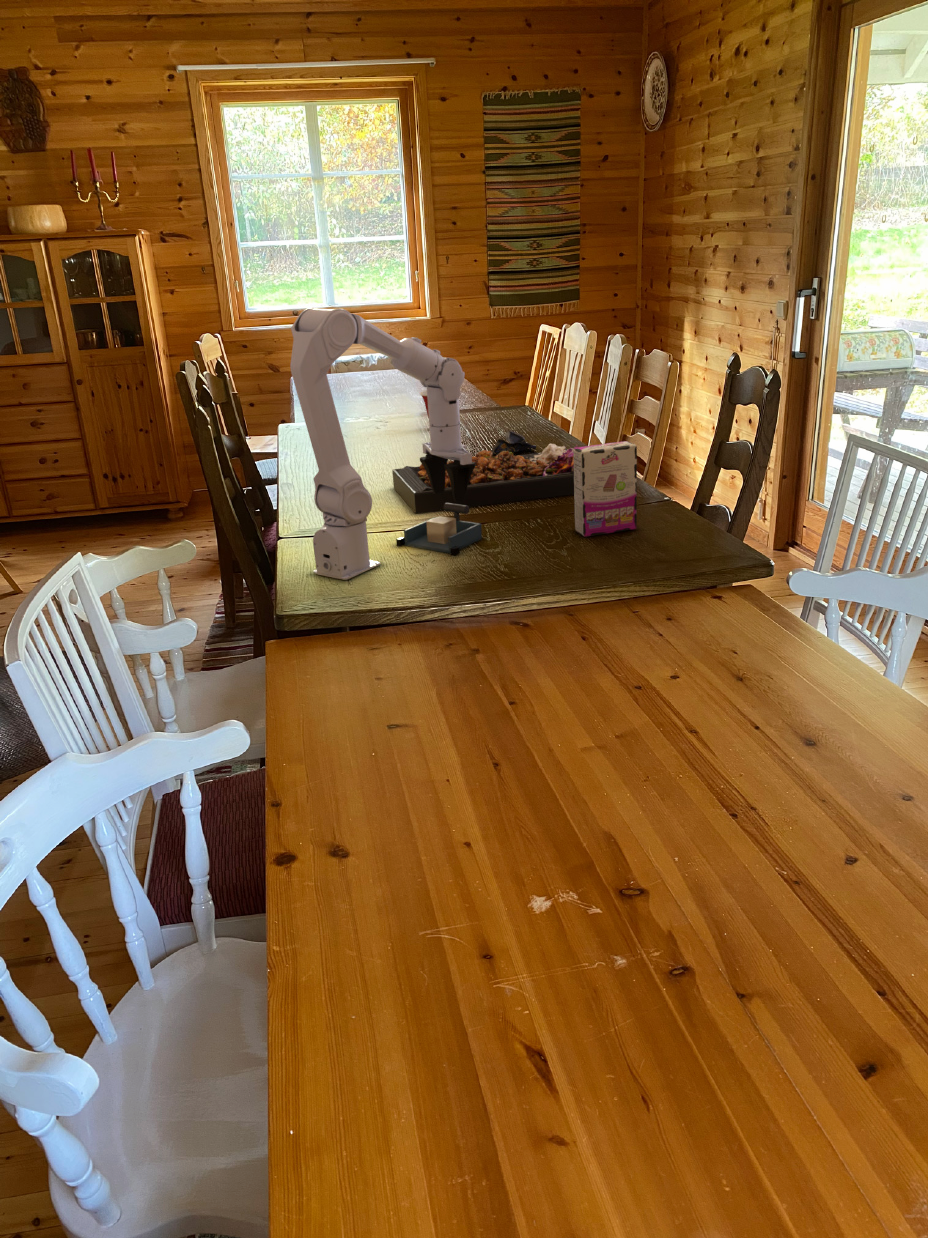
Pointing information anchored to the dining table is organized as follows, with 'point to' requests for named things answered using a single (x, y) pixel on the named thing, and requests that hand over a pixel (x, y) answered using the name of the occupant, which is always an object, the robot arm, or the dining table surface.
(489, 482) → the food platter
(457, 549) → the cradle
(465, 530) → the tray
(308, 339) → the robot arm
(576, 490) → the candy bar box
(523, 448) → the snack package
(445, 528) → the block
